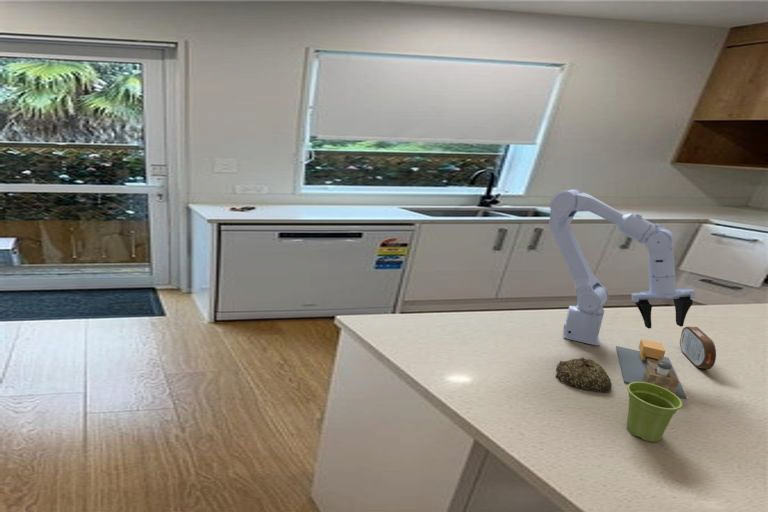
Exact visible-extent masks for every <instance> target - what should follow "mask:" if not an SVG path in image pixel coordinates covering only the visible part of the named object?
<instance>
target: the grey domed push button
mask: <svg viewBox="0 0 768 512" xmlns="http://www.w3.org/2000/svg"><path fill="white" fill-rule="evenodd" d="M671 364H672V363H671ZM671 364H669V363H667V362H664V361H658V364H657V365H658V369H657V373H656V374H657V375H661V376H666V377H667V375H668V372H669V369H671V367H672V366H673V364H672V365H671Z"/></svg>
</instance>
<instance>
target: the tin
mask: <svg viewBox="0 0 768 512" xmlns="http://www.w3.org/2000/svg"><path fill="white" fill-rule="evenodd" d="M681 330H682V331H681V335H680V340H679V348H680V350H681V352H682V354H683V355H684V356H685V357H686V358H687V359H688V361H689V362H690V363H692V365H694V367H695V368H698V369H705V370H710V369H712V368H713V367H714V365H715V364H716V360H717V359H716V357H717V349H716V345H715V343H714V341H713V339H712V338H710V337H709V336H708V335H707V334H706V333H705V332H704V331H703V330H701V328H700V327H697V326H685V327H684V328H683V327H682V329H681Z"/></svg>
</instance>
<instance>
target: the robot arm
mask: <svg viewBox="0 0 768 512" xmlns="http://www.w3.org/2000/svg"><path fill="white" fill-rule="evenodd" d="M549 208H550V211H549V223H548V225H549V229H550V230H551V233H552V235H553V237H554V240H555V242H556V244H557V245H558V248H559V250H560V253H561V255H562V257H563V259H564V261H565V263H566V265H567V268H568V270H569V272H570V274H571V277H572V278H573V280H574V292H575V293H576V294H575V295H576V296H577V297H576V303H577V304H576V305H569V306H568V310H567V313H566V317H565V318H566V319H565V322H564V323H563V324H564V325H563V328H562V329H563V338H564V339H567V340H571V341H575V342H580V343H583V344H584V343H585V344H588V345H592V346H597V347H598V346H600V345H601V343H600V339H599V334H600V331H601V327H602V323H603V318H604V313H605V310H604V306H603V305H605V304H606V303H607V302H608V300H609V297H610V294H609V291H608V289H607V288H606V287H605V286H604V285H602V284H601V282H600V279H598V277H596V276H595V275H594V274H593V271H592V270H591V268H590V267H591V266H590V265H589V264H588V261H587V259H586V257H585V254H584V253H583V250H582V248H581V246H580V244H579V242H578V240H577V239H578V238H576V236H575V235H576V234H575V233H574V231H573V229H572V227H571V223H572V221H573V219H574V217H575V215H576V214H577V213H578V212H590V213H592V214H594V215H596V216H598V217H601V218H602V219H604V220H606V221H609V222H611V223H613V224H615V225H616V226H617V228H618V232H619V233H621V234H622V235H625V236H627V237H628V238H630V239H632V240H635V241H636V242H638V243H640V244H644V246H645V248H646V249H647V250H648V258H647V259H648V261H647V262H648V263H647V264H648V281H649V282H648V284H649V286H648V287H649V290H648V291H640V292H634V293H631V294H630V295H631V301H632V302H633V303H634V304H635V305H636V307H637V308H638V311H639V312H640V315H641V317H642V320H643V323H644V327H646V328H647V329H652V309H653V305H652V303H650V301H659V300H660V301H663V300H673V304H674V308H675V309H674V310H675V324H676V325H677V326H679V327H683V326H684V323H685V319H686V316H687V314H688V312H689V310H690V308H691V306H693V299H695V298H696V291H695V290H694V289H692V288H688V289H685V288H684V289H683V288H681V289H676V269H675V268H676V266H675V265H676V264H675V257H674V254H675V253H674V248H673V246H674V244H675V241H676V238H675V234H674V233H673V232H672V231H671V230H669V229H668V228H667V227H661V225H660V224H659V223H655V224H654V223H653V222H652V221H651V222H650V221H649V220H648V219H645V218H643V214H641V213H639V212H638V213H636V214H635V213H633V212H630V213H627V214H625V213H622V212H621V211H619V210H617V209H615V208H614V207H612V206H610V204H609V205H608V204H607V203H606V202H603V201H602V200H599V199H598V198H596V197H594V196H593V195H591V194H589V193H586V192H582V191H581V190H579V189H574V188H572V189H568V190H560V191H558V192H557V193H555V194H554V196H553V197H552V200H551V201H550V203H549Z"/></svg>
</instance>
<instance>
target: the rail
mask: <svg viewBox="0 0 768 512" xmlns="http://www.w3.org/2000/svg"><path fill="white" fill-rule="evenodd" d="M644 361H645V364H646V365H649V366H653V367H657V368H658V365H657V364H658V362H657V359H656V358H651V357H647V356H645V360H644Z"/></svg>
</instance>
